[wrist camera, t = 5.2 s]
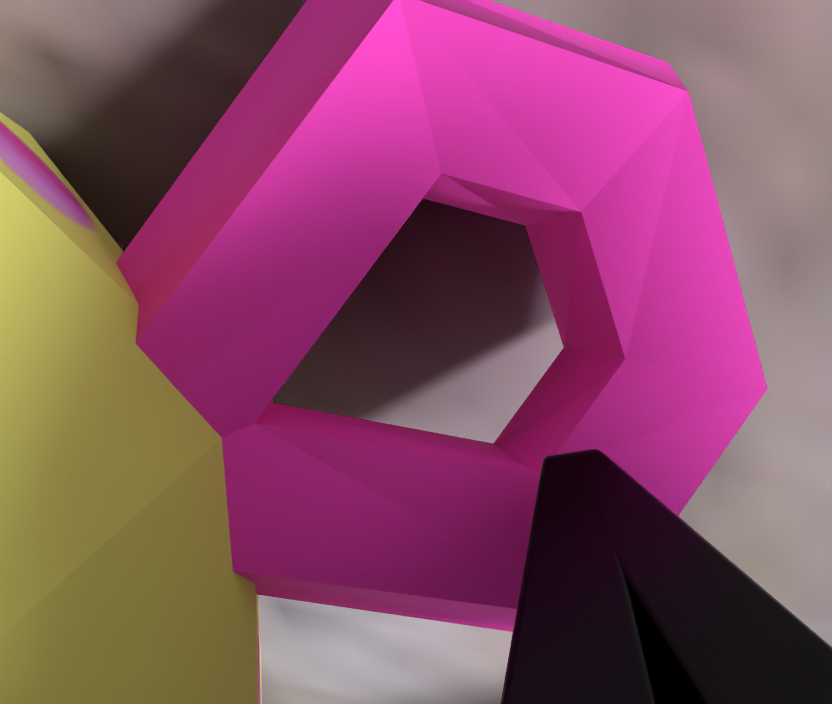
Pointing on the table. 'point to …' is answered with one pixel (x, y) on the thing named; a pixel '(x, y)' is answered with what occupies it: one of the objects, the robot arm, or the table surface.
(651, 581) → the robot arm
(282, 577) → the toy
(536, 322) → the table surface
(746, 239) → the table surface
